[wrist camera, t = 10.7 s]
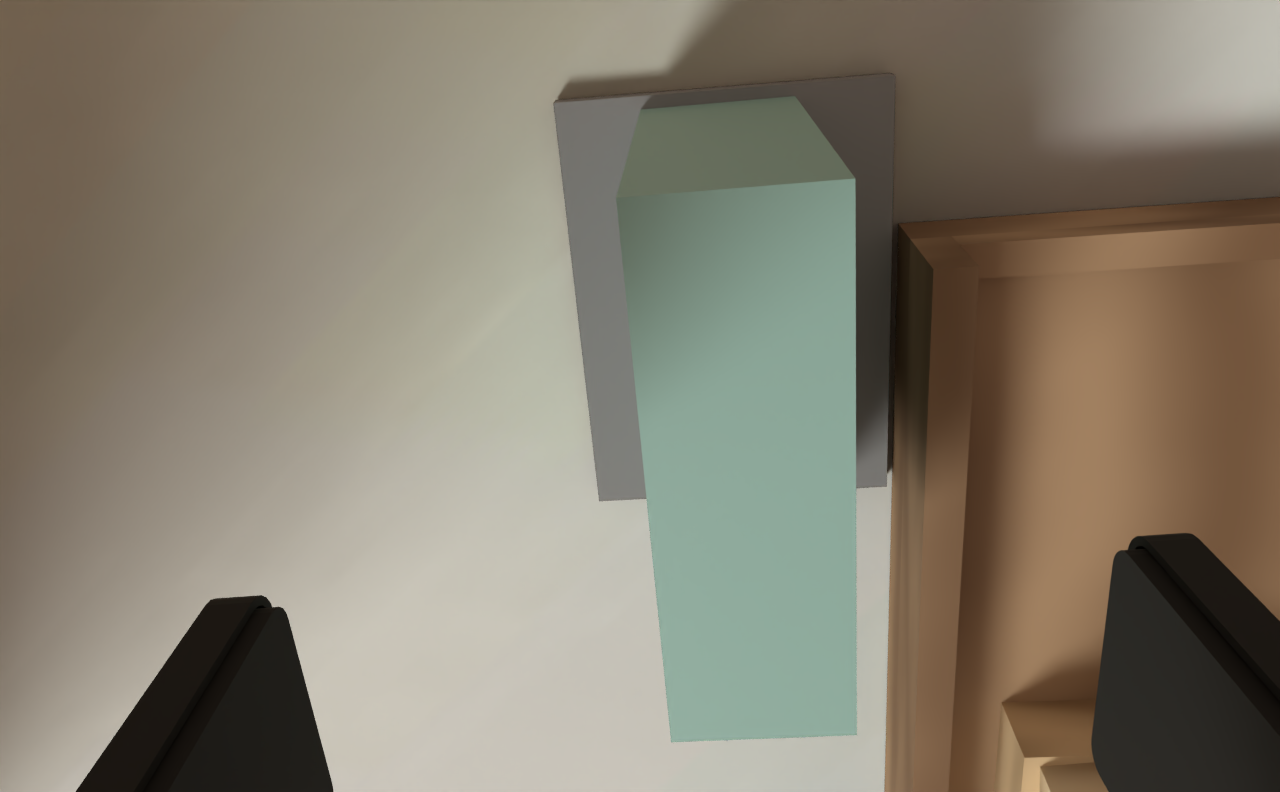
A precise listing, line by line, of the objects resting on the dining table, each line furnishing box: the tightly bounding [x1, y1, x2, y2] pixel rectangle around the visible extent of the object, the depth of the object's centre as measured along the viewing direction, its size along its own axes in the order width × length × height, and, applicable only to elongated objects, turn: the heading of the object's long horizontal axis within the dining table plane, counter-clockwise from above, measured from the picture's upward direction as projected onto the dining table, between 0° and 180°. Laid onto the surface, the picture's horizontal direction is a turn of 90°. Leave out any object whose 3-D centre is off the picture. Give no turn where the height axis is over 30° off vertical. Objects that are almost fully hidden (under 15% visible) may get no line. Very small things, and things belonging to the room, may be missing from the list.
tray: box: [885, 197, 1280, 792], centre depth 22 cm, size 12×18×3 cm, turn 5°
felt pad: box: [554, 73, 896, 501], centre depth 21 cm, size 7×9×1 cm
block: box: [616, 96, 857, 742], centre depth 18 cm, size 9×3×8 cm, turn 5°
